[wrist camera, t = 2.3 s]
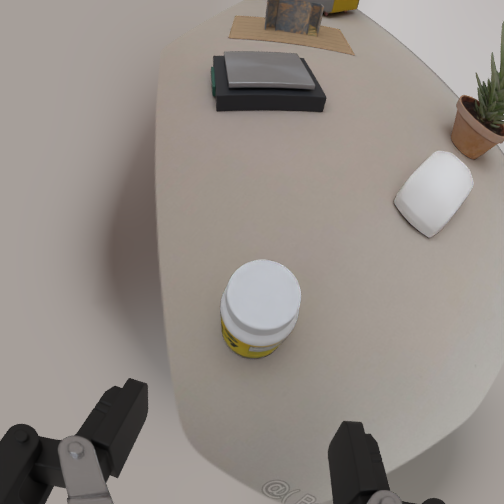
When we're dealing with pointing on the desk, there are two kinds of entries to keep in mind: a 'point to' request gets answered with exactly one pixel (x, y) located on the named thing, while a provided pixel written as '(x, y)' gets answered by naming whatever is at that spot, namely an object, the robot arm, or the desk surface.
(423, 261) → the desk surface
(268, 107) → the scale
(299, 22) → the ruin model on sheet
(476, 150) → the potted plant
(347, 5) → the alarm clock
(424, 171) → the computer mouse
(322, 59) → the desk surface
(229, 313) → the supplement bottle
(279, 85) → the scale pan
